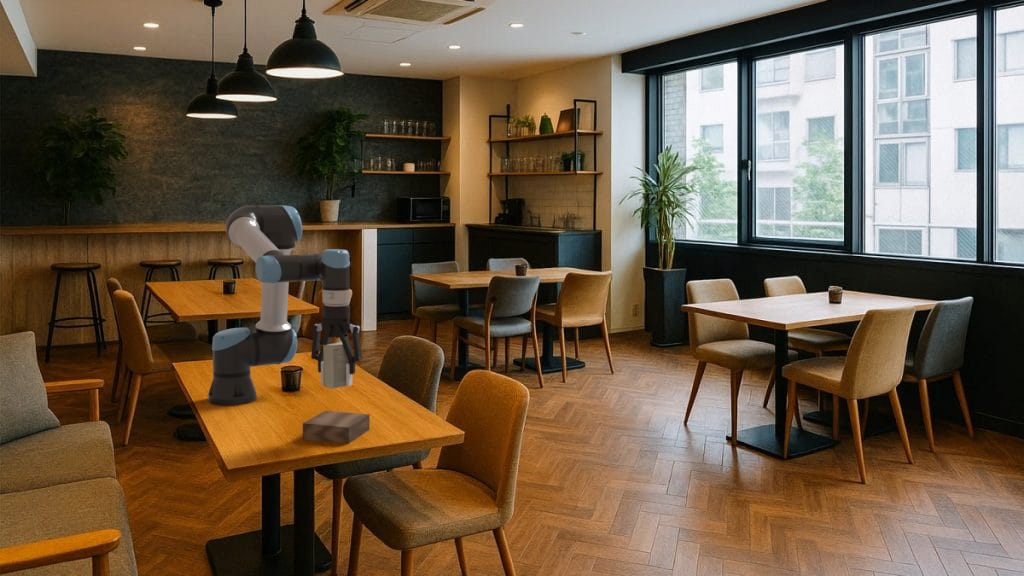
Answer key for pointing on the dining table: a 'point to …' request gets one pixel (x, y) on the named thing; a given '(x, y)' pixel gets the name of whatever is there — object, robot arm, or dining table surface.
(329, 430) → the plate
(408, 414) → the dining table surface
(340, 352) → the skincare box
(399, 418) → the dining table surface
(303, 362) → the dining table surface
